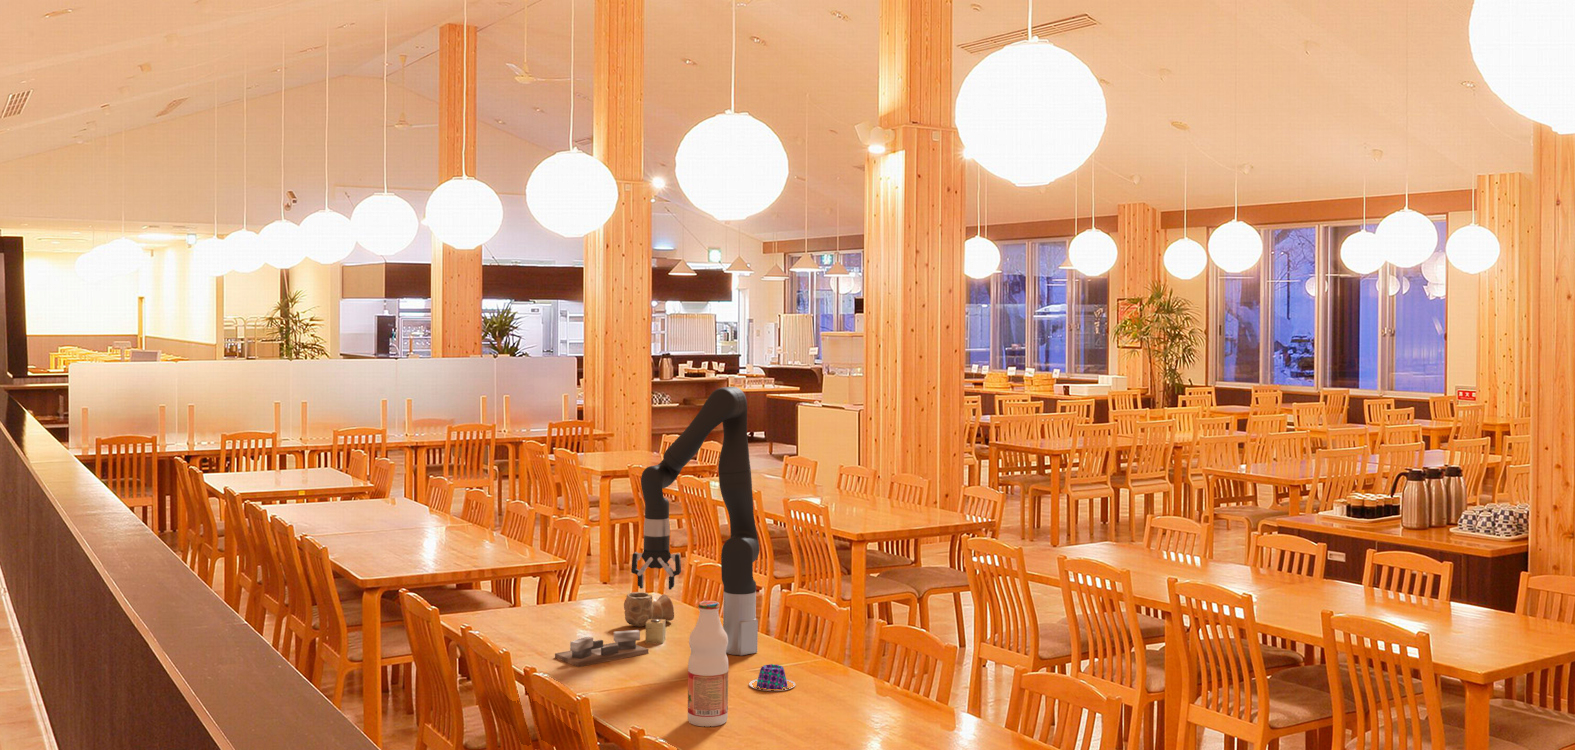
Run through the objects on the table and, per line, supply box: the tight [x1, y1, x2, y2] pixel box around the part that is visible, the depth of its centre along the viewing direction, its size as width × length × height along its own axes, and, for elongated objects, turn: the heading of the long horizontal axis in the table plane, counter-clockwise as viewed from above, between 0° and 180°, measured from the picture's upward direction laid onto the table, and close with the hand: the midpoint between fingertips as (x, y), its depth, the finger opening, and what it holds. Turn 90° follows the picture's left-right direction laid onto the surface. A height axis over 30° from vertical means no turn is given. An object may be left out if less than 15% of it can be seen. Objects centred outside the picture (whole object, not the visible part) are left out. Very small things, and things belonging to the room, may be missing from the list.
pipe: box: [623, 591, 675, 628], centre depth 392 cm, size 9×16×10 cm, turn 131°
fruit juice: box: [687, 600, 729, 728], centre depth 297 cm, size 9×9×28 cm
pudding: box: [748, 663, 796, 692], centre depth 328 cm, size 12×12×5 cm
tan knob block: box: [645, 619, 667, 645], centre depth 372 cm, size 5×5×6 cm
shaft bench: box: [554, 629, 649, 668], centre depth 355 cm, size 12×23×6 cm, turn 131°
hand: (655, 588), depth 372 cm, fingers open, 8 cm apart
